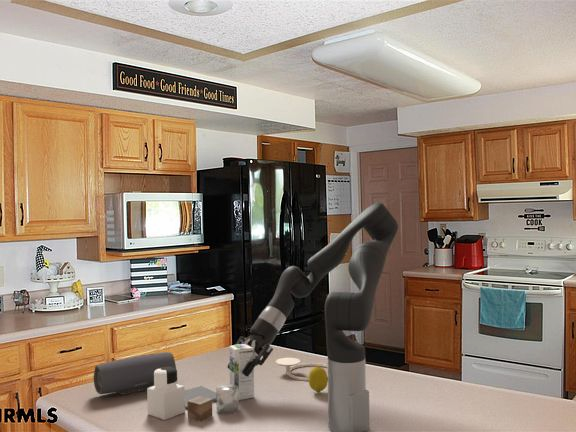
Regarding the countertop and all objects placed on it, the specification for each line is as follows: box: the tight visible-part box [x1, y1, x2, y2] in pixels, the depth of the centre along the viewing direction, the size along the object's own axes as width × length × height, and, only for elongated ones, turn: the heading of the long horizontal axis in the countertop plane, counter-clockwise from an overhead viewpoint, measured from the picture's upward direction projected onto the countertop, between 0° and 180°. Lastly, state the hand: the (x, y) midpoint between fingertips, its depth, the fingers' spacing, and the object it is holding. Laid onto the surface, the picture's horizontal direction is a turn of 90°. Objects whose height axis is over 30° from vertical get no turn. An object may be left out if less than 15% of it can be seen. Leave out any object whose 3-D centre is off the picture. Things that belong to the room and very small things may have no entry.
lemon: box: [308, 366, 328, 394], centre depth 160 cm, size 6×6×8 cm
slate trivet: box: [185, 385, 216, 410], centre depth 157 cm, size 12×12×1 cm
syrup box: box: [229, 344, 255, 401], centre depth 158 cm, size 6×6×14 cm
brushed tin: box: [215, 383, 240, 415], centre depth 148 cm, size 6×6×6 cm
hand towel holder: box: [275, 357, 328, 382], centre depth 179 cm, size 17×4×21 cm
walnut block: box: [187, 396, 213, 423], centre depth 143 cm, size 4×4×4 cm
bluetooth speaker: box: [93, 351, 177, 395], centre depth 166 cm, size 23×9×10 cm, turn 126°
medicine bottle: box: [146, 367, 186, 421], centre depth 146 cm, size 7×7×12 cm
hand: (237, 371), depth 157 cm, fingers closed on syrup box, 6 cm apart
